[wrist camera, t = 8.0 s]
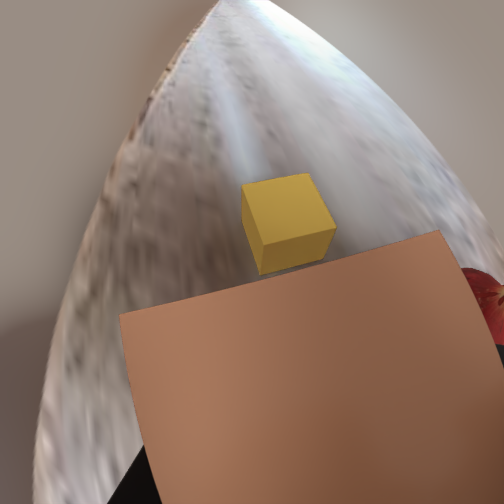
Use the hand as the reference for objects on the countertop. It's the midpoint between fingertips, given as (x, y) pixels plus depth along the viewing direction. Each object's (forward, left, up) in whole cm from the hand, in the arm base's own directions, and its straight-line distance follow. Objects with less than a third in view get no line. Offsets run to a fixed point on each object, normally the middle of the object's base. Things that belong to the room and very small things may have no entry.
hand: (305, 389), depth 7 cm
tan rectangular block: (-1, 0, -7) cm, 7 cm away
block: (+10, 0, -8) cm, 13 cm away
